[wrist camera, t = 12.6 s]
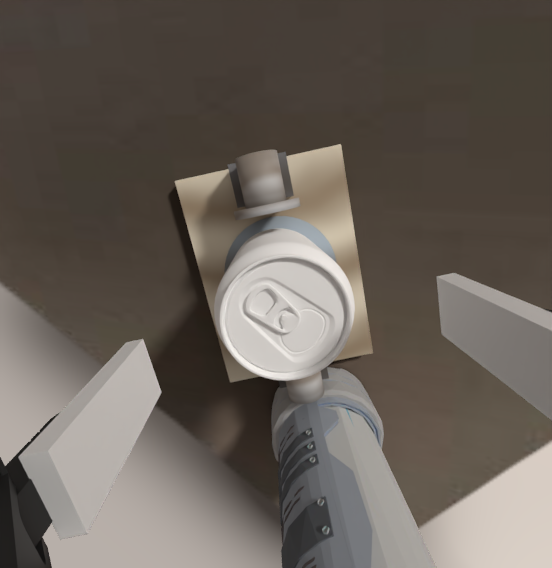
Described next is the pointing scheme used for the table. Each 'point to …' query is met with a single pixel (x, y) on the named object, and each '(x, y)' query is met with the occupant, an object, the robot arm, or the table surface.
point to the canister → (340, 484)
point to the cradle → (269, 215)
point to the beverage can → (283, 306)
